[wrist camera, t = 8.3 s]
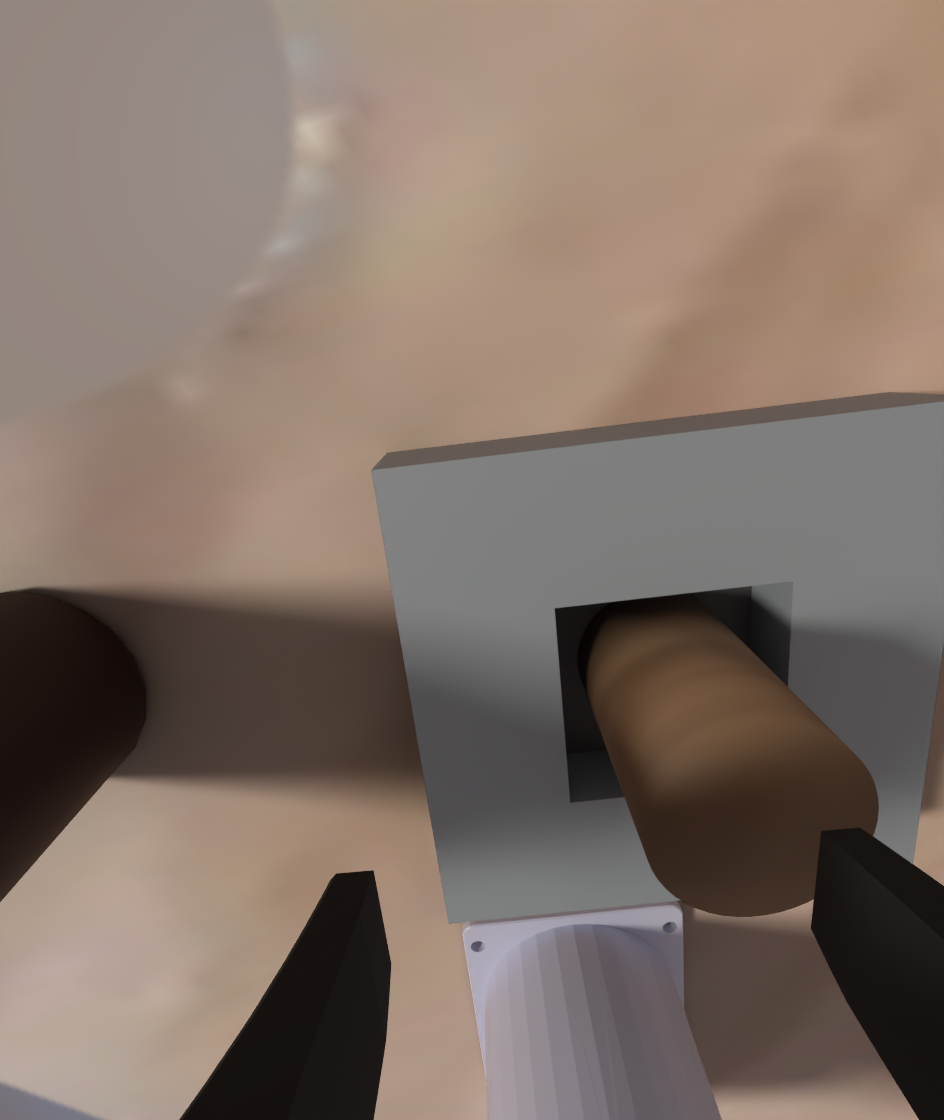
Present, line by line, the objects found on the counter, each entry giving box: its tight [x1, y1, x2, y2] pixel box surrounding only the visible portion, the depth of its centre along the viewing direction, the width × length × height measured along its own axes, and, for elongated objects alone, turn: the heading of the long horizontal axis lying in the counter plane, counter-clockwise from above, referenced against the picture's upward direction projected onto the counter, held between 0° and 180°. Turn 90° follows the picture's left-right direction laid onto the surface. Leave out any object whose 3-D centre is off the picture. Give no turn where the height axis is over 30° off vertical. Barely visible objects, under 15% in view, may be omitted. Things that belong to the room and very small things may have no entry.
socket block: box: [371, 392, 944, 924], centre depth 17 cm, size 14×14×3 cm
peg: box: [578, 593, 879, 917], centre depth 14 cm, size 4×4×7 cm
